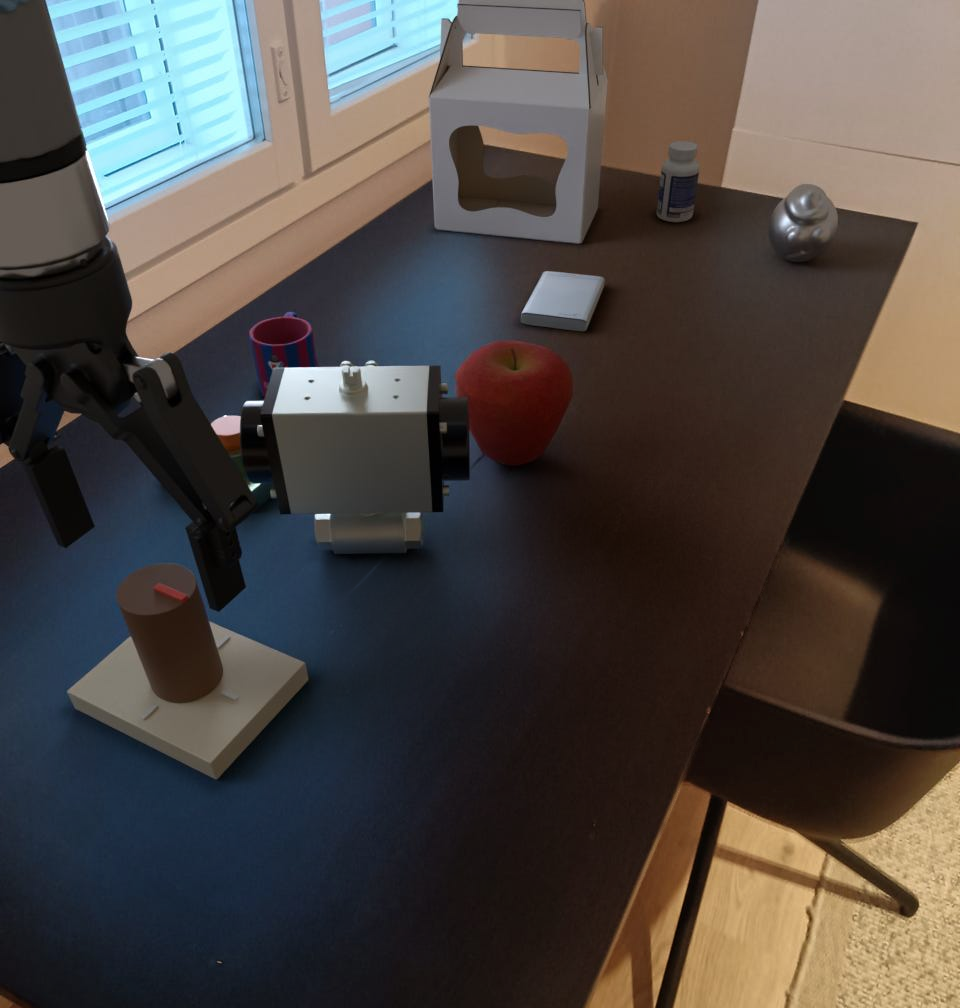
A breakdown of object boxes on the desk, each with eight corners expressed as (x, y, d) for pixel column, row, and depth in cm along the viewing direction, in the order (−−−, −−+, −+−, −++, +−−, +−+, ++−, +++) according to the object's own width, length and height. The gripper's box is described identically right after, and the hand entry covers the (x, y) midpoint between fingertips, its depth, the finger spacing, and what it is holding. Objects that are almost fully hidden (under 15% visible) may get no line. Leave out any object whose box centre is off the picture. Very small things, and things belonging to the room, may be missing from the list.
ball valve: (471, 512, 87) (467, 336, 75) (471, 572, 81) (467, 391, 69) (280, 515, 87) (245, 340, 75) (267, 575, 81) (225, 395, 69)
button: (205, 445, 89) (201, 429, 88) (229, 427, 92) (226, 411, 90) (234, 455, 88) (231, 439, 87) (258, 436, 90) (255, 421, 89)
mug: (252, 401, 102) (240, 343, 97) (279, 356, 109) (269, 301, 104) (311, 405, 101) (302, 347, 96) (334, 360, 108) (326, 304, 103)
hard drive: (587, 319, 111) (605, 275, 120) (520, 312, 113) (543, 269, 121) (586, 332, 112) (604, 288, 121) (520, 324, 114) (542, 281, 122)
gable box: (432, 230, 135) (422, 0, 115) (457, 197, 144) (452, -22, 124) (583, 245, 130) (599, 9, 111) (599, 210, 139) (617, -14, 119)
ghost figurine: (747, 262, 126) (763, 185, 119) (781, 240, 131) (798, 165, 124) (808, 281, 122) (828, 202, 114) (841, 258, 127) (861, 180, 119)
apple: (466, 495, 89) (463, 382, 81) (451, 434, 97) (447, 325, 88) (578, 483, 90) (587, 371, 82) (555, 424, 98) (560, 315, 89)
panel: (74, 708, 71) (65, 689, 69) (173, 620, 77) (167, 601, 76) (216, 780, 66) (209, 761, 64) (308, 679, 73) (305, 660, 71)
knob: (135, 686, 69) (97, 595, 63) (184, 641, 73) (153, 550, 66) (190, 713, 68) (157, 621, 61) (238, 665, 71) (211, 574, 64)
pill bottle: (699, 215, 137) (710, 144, 131) (678, 226, 135) (688, 154, 128) (669, 206, 140) (678, 136, 133) (648, 216, 137) (656, 145, 130)
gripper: (278, 267, 45) (333, 591, 60) (-63, 185, 54) (59, 485, 69) (172, 331, 40) (260, 664, 56) (-182, 230, 49) (-23, 541, 64)
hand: (149, 566), depth 62 cm, fingers open, 13 cm apart
